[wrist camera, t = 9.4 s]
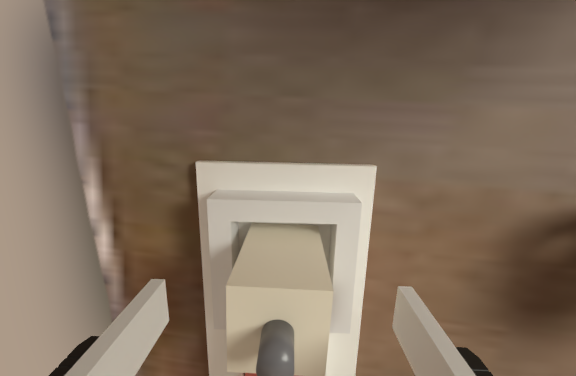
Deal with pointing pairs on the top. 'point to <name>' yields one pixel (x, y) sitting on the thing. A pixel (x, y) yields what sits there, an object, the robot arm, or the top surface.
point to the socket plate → (287, 210)
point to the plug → (279, 303)
